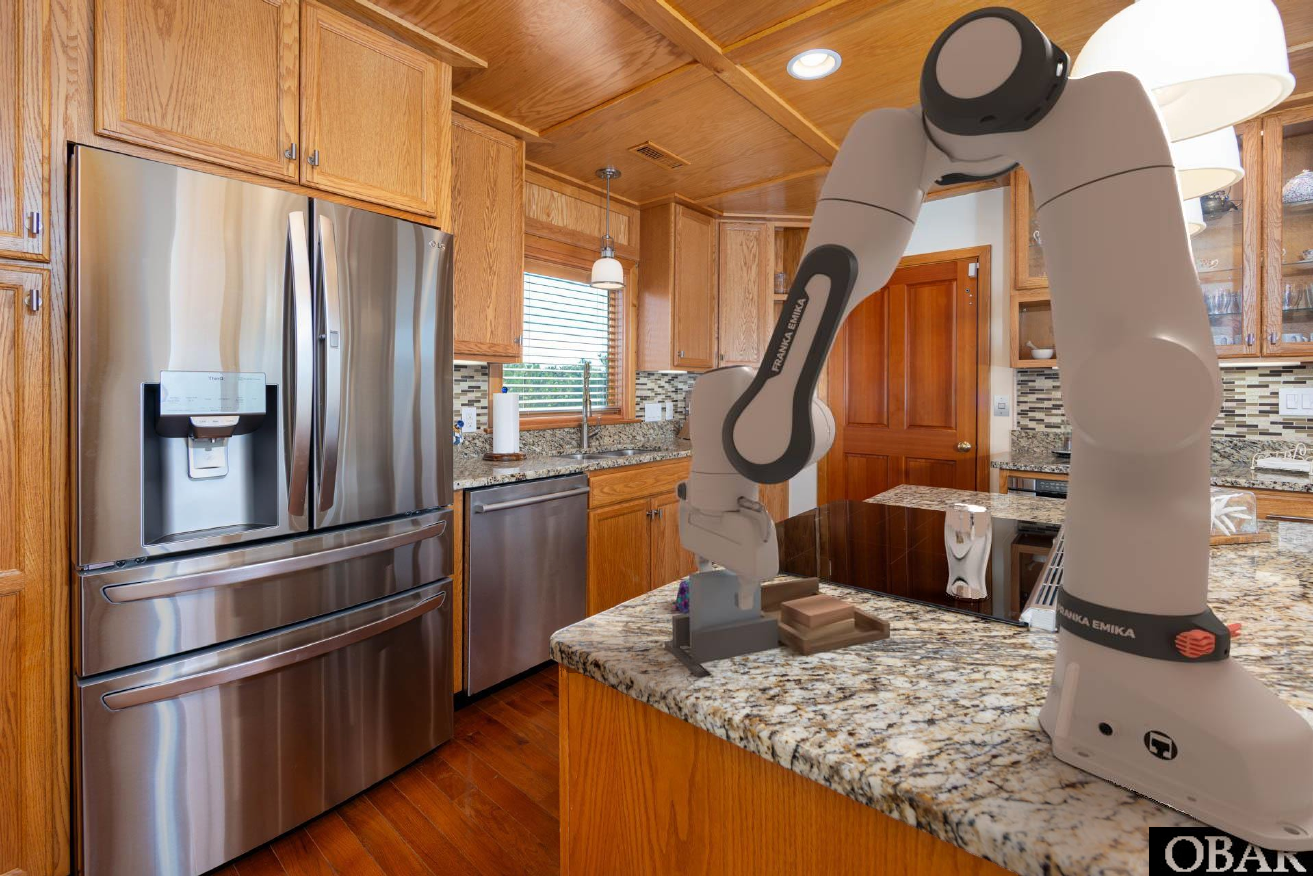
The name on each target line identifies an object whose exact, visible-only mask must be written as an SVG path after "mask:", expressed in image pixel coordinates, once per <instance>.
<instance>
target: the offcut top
mask: <svg viewBox="0 0 1313 876" xmlns="http://www.w3.org/2000/svg"><path fill="white" fill-rule="evenodd" d="M826 594H827V593H825V594H820V595H815V596H811V597H806V598H801V599H797V600H792V601H787V602H783V603H781V616H783V617H786V618H788V619H790V620H792V621H794V622H796V623H798V624H800V625H802V626H805V627H807V628H809V629H813V628H817V627H821V626H825V625H829V624H833V623H837V622H841V621H845V620H850V619H854V607H855V604H851V603H849V602H846V601H844V600H841V599H838V598H836V597H834V596H831V595H829V596H828V594H827V595H826Z"/></svg>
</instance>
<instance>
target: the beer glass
mask: <svg viewBox="0 0 1313 876" xmlns="http://www.w3.org/2000/svg"><path fill="white" fill-rule="evenodd" d="M991 510H992V508H991V507H990V506H989V507H988V506H986V505H980V504H974V503H973V504H972V503H951V504H948V505H947V504H946V510H945V520H944V521H945V522H944V545H945V550H946V557H947V562H948V572H949V575H948V576H949V577H948V583H947V586H946V591H945V592H947V593H948V594H950V595H952V596H956V597H959V598H972V599H979V598H985V597H986V596H987V597H988V593H987V589H986V570H987V565H988V562H989V561H988V560H989V556H990V553H991V545H992V538H993V535H992V534H993V529H992V528H993V525H992V522H993V521H992V511H991Z"/></svg>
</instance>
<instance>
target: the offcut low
mask: <svg viewBox="0 0 1313 876" xmlns="http://www.w3.org/2000/svg"><path fill="white" fill-rule="evenodd" d="M781 622H782V623H784V624H786V625H787V626H789V627H791V628H793V629H794V630H796V631H798V632H800V633H801V634H803V635H805V636H806V637H808V638H810V639H811V641H813V640H818V639H823V638H828V637H833V636H838V635H843V634H848V633H853V632H855V619H850V620H845V621H841V622H837V623H833V624H829V625H825V626H821V627H817V628H813V629H809V628H807V627H805V626H802V625H800V624H798V623H796V622H794V621H792V620H790V619H788V618H786V617H783V616H781Z"/></svg>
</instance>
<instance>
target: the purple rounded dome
mask: <svg viewBox="0 0 1313 876" xmlns="http://www.w3.org/2000/svg"><path fill="white" fill-rule="evenodd" d="M674 607H675V608H674V610H675V611H676V612H678V613H682V614H687V613H690V611H689V578H686V579H685V580H682V581H680V584H679V587H678V589H677V595H676V599H675V602H674Z"/></svg>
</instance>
